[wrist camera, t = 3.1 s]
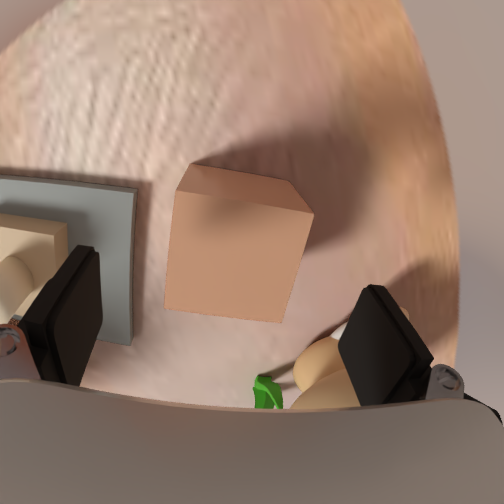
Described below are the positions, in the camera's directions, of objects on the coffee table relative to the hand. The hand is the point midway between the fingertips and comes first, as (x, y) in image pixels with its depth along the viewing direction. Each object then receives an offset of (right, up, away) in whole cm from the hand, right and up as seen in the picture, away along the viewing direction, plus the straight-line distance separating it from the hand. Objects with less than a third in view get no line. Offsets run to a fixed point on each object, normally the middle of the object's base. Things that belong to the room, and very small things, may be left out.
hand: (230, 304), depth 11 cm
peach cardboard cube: (-1, +4, +9) cm, 10 cm away
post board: (-15, +1, +9) cm, 18 cm away
